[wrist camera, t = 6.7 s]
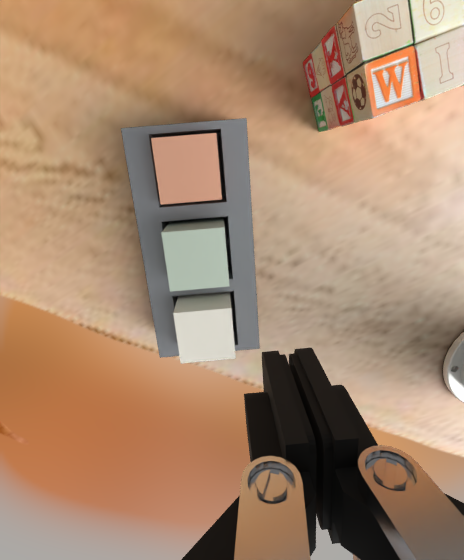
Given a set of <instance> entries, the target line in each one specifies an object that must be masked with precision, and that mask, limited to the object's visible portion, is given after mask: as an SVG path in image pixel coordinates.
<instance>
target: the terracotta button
mask: <svg viewBox="0 0 464 560" xmlns="http://www.w3.org/2000/svg"><path fill="white" fill-rule="evenodd" d="M151 141H152V148H153V155H154V162H155V169H156V176H157V183H158V190H159V197H160V204H173V203H185V202H197V201H209V200H221V199H222V193H221V182H220V170H219V158H218V146H217V134H216V133H208V134H196V135H183V136H171V137H158V138H151Z"/></svg>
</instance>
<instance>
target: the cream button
mask: <svg viewBox="0 0 464 560" xmlns="http://www.w3.org/2000/svg"><path fill="white" fill-rule="evenodd" d="M173 315H174V322H175V329H176V335H177V342H178V349H179V356H180V362H181V363H191V362H202V361H213V360H224V359H235V358H236V357H235V345H234V333H233V321H232V309H231V300H230V291H227V292H216V293H204V294H193V295H182V296H178V298H177V302H176V305H175V309H174V312H173Z"/></svg>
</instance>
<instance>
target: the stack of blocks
mask: <svg viewBox="0 0 464 560" xmlns="http://www.w3.org/2000/svg"><path fill="white" fill-rule="evenodd" d="M303 66H304V70H305V75H306V79H307V84H308V88H309V92H310V97H311V99H312V103H313V107H314V112H315V117H316V121H317V125H318V131H319V132H322V131H327V130H331V129H334V128H336V127H339V126H345V125H349V124H353V123H356V122H359V121H363V120H368V119H372V118H375V117H378V116H381V115H383V114H386V113H389V112H391V111H394V110H397V109H399V108H402V107H405V106H407V105H410V104H413V103H416V102H419V101H423V100H426V99H428V98H431V97H433V96H436V95H439V94H441V93H444V92H446V91H449V90H451V89H454V88H456V87H459V86H462V85H464V0H360V1H358V2H356V3H354V4H353V5H352V6H351V7H350V8H349V9H348V11H347V12H346V13H345V14H344V15H343V17H342V18H341V19H340V20H339V22H338V23H337V24H336V25H334V26H333V27H332V28H331V29H330V30H329V31H328V33H327V34H326V35H325V36H324V38H323V39H322V40H321V42H320V43H319V45H318V46H317V47H316V48H315V50H314V51H313V52H311V53H310V55H309V56H308V57H307V58H306V59H305V60H304V62H303Z"/></svg>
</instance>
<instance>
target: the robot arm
mask: <svg viewBox="0 0 464 560" xmlns="http://www.w3.org/2000/svg"><path fill="white" fill-rule="evenodd" d="M262 367H263V385H264V392H259V393H248V394H244V398H245V399H244V400H245V413H246V424H247V434H248V443H249V451H250V461H251V463H250V464H249V465H248V466H247V467H246V468H245V470H244V471H243V475H242V478H241V486H240V496H239V497H238V498H237V499H236V500H235V501H234V503H232V505H231V506H230V507H229V508H228V509H227V510H226V511H225V512H224V513H223V514H222V516H221V517H220V518H219V519H218V520H217V521H216V522H215V523H214V524H213V525H212V527H211V528H210V529H209V530H208V531H207V532H206V533H205V534H204V535H203V536H202V538H201V539H200V540H199V541H198V542H197V543H196V544H195V545H194V546H193V548H192V549H191V550H190V551H189V552H188V553H187V554H186V555H185V556H184V557H183V559H182V560H310V556H311V555H312V553H313V551H314V550H315V548H316V514H317V518H318V521H319V525H320V527H321V529H322V530H324V529H328V532H329V535H330V538H331V541H332V544H334V543H341V546H343V547H344V548H345V549H347V550H348V551H350V552H351V553H352V554H353V559H354V560H464V503H462V502H460V501H458V500H456V499H454V498H452V497H450V496H449V495H447V494H445V493H443V492H442V491H441V489H440V488H439V487H438V486H437V485H436V484H435V483H434V481H433V480H432V479H431V478H430V477H429V476H428V474H427V473H426V472H425V471H424V470H423V469H422V467H421V466H420V465H419V464H418V463H417V462H416V461H415V460H414V459H413V458H412V457H411V456H409V455H408V454H406V453H405V452H403V451H401V450H399V449H396V448H393V447H390V446H382V445H380V446H378V444H377V443H376V441H375V439H374V437H373V436H372V434H371V432H370V431H369V429H368V427H367V425H366V423H365V422H364V420H363V418H362V416H361V415H360V413H359V411H358V409H357V408H356V406H355V404H354V403H353V401H352V399H351V397H350V396H349V394H348V392H347V390H346V389H345V387H344V386H343V385H334V386H332V385H331V384H330V382H329V380H328V378H327V376H326V374H325V372H324V370H323V368H322V366H321V364H320V362H319V360H318V359H317V357H316V355H315V353H314V351H313V349H312V348H303V349H295V352H294V354H289V364H288V361H287V358H286V356H285V354H284V355H280V354H279V351H270V352H262ZM443 377H444V381H445V384H446V386H447V387H448V389H449V390H450V391H451V392H452V394H453V395H454V396H455V397H457V398H458V399H459V400H460V401H461V402H463V403H464V332H463V333H462V334H460V336H459V337H458V338H457V339H456V340H455V341H454V342H453V344H452V346H451V347H450V349H449V350H448V353H447V355H446V357H445V360H444V365H443Z"/></svg>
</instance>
